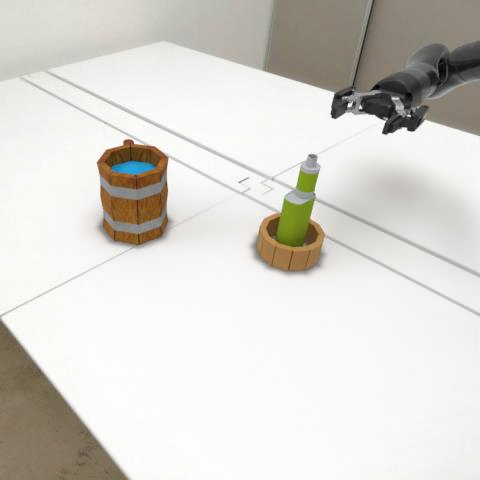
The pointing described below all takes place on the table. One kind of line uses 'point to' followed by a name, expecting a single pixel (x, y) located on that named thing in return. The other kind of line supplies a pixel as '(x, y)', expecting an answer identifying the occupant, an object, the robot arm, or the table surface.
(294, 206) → the vape
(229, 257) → the table surface
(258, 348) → the table surface
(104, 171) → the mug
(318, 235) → the wooden ring
